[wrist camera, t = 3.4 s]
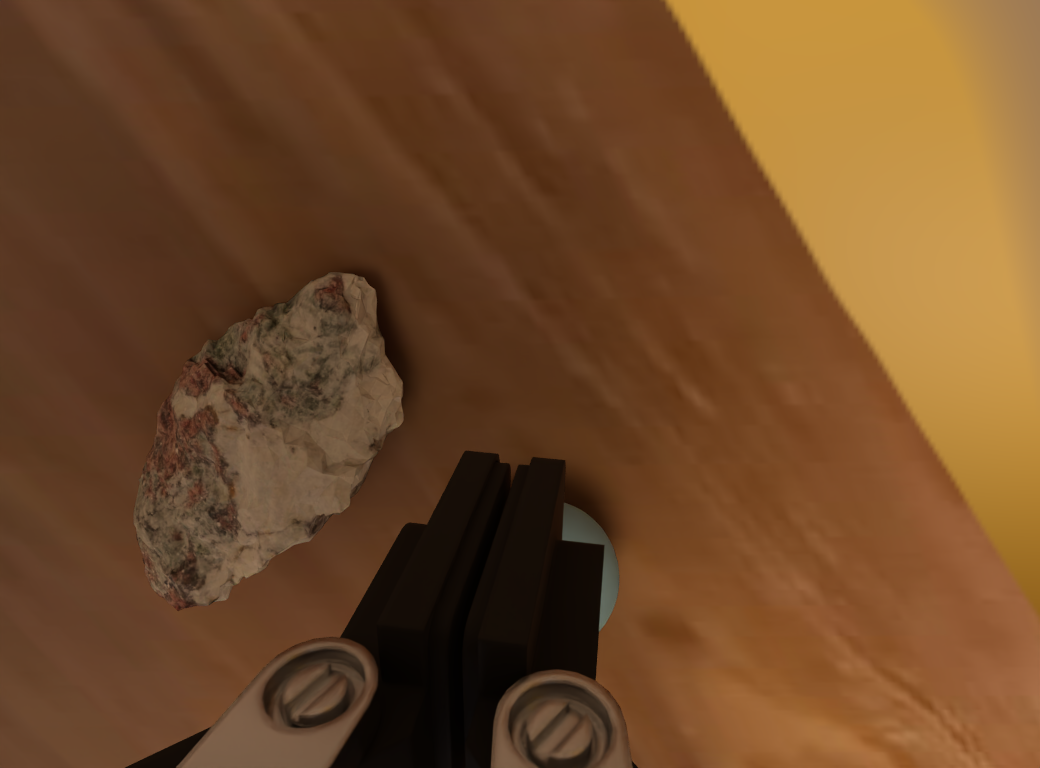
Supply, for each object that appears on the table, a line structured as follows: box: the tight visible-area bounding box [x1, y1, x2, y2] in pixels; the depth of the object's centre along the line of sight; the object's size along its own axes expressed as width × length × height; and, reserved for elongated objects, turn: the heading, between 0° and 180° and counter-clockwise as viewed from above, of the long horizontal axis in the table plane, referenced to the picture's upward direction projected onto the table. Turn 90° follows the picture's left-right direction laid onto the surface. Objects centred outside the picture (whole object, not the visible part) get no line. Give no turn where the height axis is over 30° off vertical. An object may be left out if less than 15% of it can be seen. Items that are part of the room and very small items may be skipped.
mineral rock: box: [134, 272, 404, 611], centre depth 24 cm, size 15×8×4 cm, turn 128°
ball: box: [562, 503, 619, 631], centre depth 23 cm, size 6×6×6 cm
